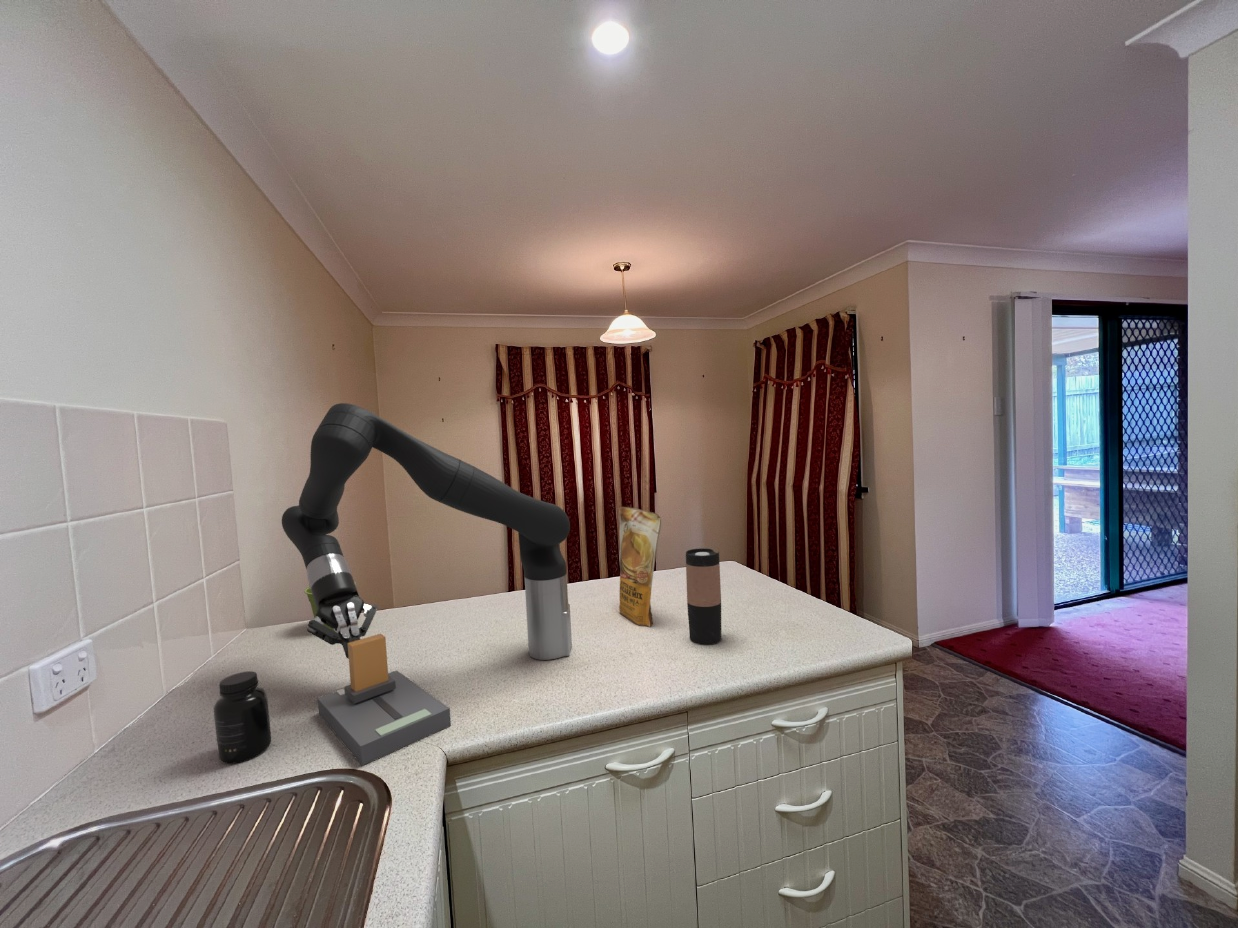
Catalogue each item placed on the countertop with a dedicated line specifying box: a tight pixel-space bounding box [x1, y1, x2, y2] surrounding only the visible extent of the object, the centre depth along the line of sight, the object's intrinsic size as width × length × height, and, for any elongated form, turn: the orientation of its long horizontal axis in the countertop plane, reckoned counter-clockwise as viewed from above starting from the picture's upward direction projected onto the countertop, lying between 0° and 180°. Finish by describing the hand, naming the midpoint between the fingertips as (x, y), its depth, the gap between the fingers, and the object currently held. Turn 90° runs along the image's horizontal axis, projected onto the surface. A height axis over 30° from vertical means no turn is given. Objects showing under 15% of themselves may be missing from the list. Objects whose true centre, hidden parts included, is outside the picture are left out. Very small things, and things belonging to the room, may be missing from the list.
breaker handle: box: [344, 633, 396, 704], centre depth 92 cm, size 5×7×9 cm
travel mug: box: [685, 547, 722, 646], centre depth 117 cm, size 8×8×20 cm
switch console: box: [316, 669, 452, 767], centre depth 89 cm, size 22×14×3 cm, turn 45°
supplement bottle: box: [213, 670, 272, 765], centre depth 81 cm, size 7×7×12 cm
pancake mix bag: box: [617, 506, 662, 627], centre depth 133 cm, size 7×19×28 cm, turn 25°
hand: (356, 657), depth 97 cm, fingers closed
